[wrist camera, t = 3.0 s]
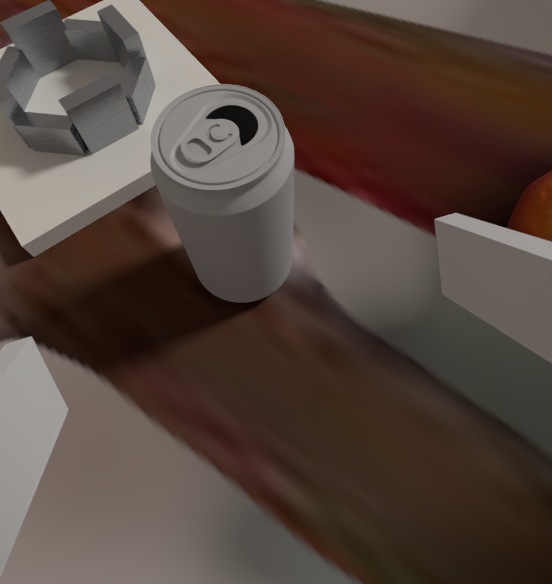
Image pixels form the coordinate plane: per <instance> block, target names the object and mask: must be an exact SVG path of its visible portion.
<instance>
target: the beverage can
mask: <svg viewBox="0 0 552 584" xmlns="http://www.w3.org/2000/svg"><path fill="white" fill-rule="evenodd" d="M151 149H152V151H151V158H150V166H151V172H152V176H153V179H154V182H155V184H156V186H157V188H158V190H159V193H160V195H161V197H162V199H163V201H164V204H165V206H166V208H167V210H168V212H169V215H170V217H171V219H172V221H173V223H174V226H175V228H176V230H177V232H178V235H179V237H180V239H181V241H182V243H183V246H184V248H185V250H186V252H187V254H188V257H189V259H190V261H191V263H192V265H193V268H194V270H195V272H196V274H197V276H198V278H199V280H200V282H201V283H202V285H203V286H204V287H205V288H206V289H207V290H208V291H209V292H211V293H212V294H213V295H215V296H217V297H219V298H221V299H223V300H226V301H230V302H238V303H245V302H253V301H257V300H260V299H262V298H265V297H267V296H269V295H270V294H272V293H273V292H275V291H276V290H277V289H278V288H279V287H280V286H281V285H282V284H283V283H284V281H285V280H286V278H287V276H288V275H289V272H290V270H291V267H292V261H293V206H294V200H293V199H294V146H293V142H292V139H291V137H290V134H289V132H288V130H287V128H286V127H285V125H284V122H283V119H282V116H281V114H280V112H279V110H278V109H277V108H276V106H275V105H274V104H273V103H272V102H271V101H270V100H269V99H268V98H266V97H265V96H263V95H262V94H260V93H258V92H256V91H254V90H252V89H249V88H246V87H242V86H238V85H229V84H216V85H209V86H203V87H200V88H196V89H193V90H191V91H189V92H186V93H184V94H182V95H181V96H179V97H177V98H176V99H174V100H173V101H172V102H171V103H170V104H168V105H167V106H166V107H165V108H164V110H163V111H162V112H161V113H160V115H159V116H158V118H157V119H156V121H155V123H154V126H153V129H152V133H151Z"/></svg>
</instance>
